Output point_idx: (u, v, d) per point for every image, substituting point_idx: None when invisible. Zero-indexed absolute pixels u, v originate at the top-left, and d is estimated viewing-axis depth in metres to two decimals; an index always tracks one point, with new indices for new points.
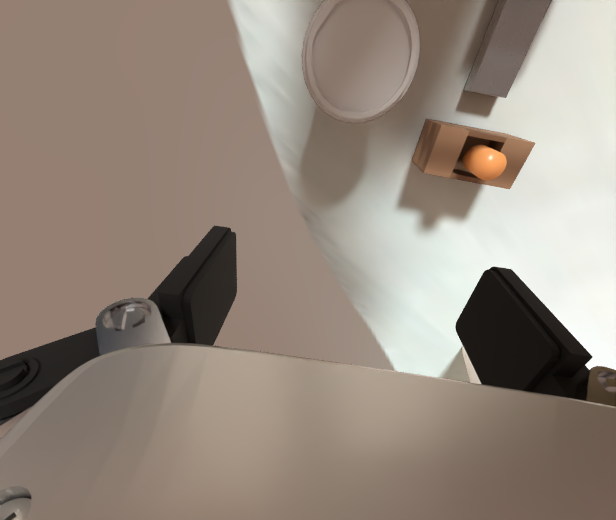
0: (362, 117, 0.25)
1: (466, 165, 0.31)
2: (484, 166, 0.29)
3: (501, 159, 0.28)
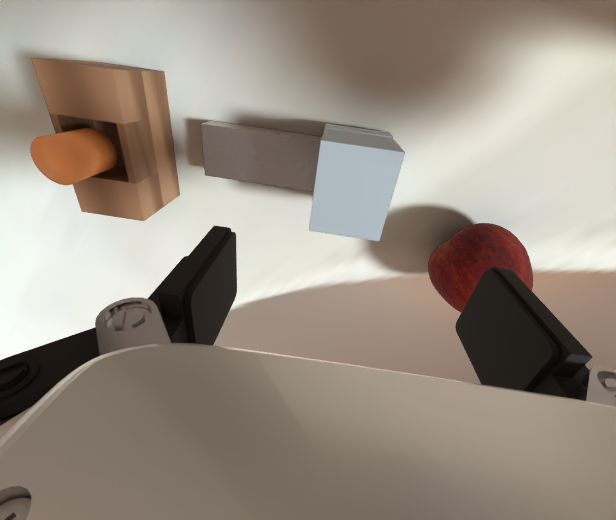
0: None
1: None
2: (49, 151, 0.17)
3: (71, 174, 0.18)
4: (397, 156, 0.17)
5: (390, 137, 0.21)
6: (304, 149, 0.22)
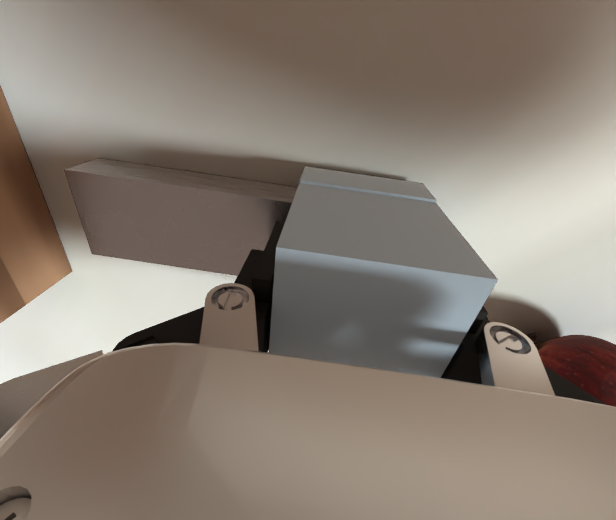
0: None
1: None
2: None
3: None
4: (476, 287, 0.07)
5: (431, 201, 0.10)
6: (264, 215, 0.12)
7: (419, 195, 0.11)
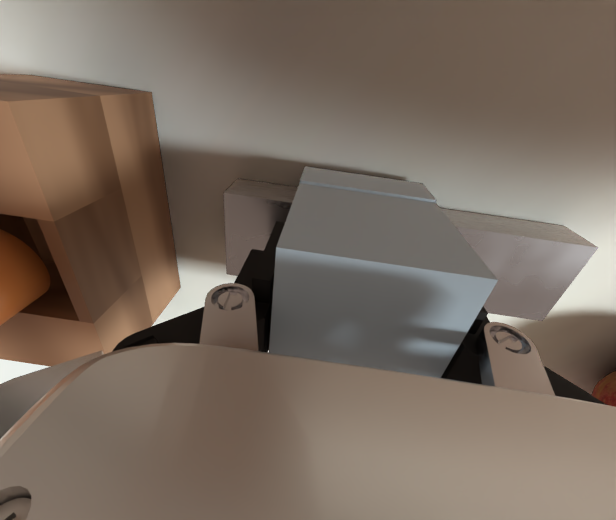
0: None
1: None
2: None
3: None
4: (476, 287, 0.07)
5: (431, 201, 0.10)
6: None
7: (419, 195, 0.11)
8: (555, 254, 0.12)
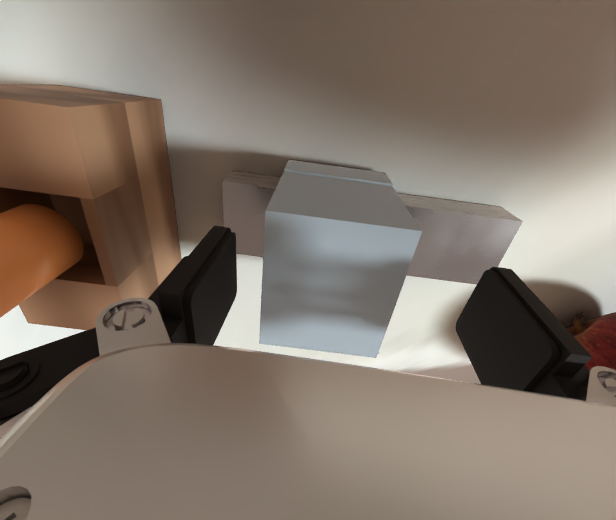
0: None
1: None
2: None
3: None
4: (408, 237, 0.09)
5: (388, 185, 0.13)
6: None
7: (379, 180, 0.13)
8: (490, 228, 0.15)
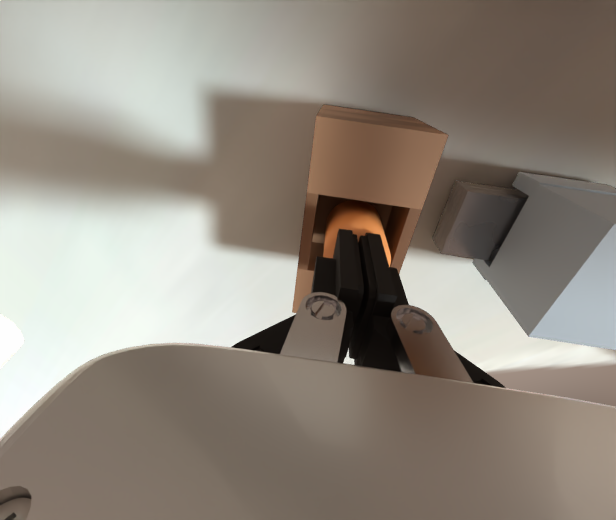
0: None
1: (343, 210, 0.13)
2: None
3: None
4: None
5: None
6: None
7: None
8: None
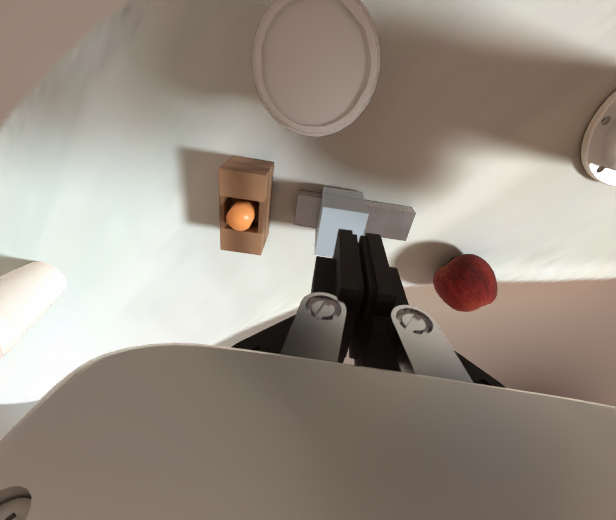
0: (257, 77, 0.21)
1: (238, 200, 0.34)
2: (237, 214, 0.32)
3: (245, 225, 0.33)
4: (365, 215, 0.31)
5: (362, 198, 0.35)
6: None
7: (359, 196, 0.35)
8: (403, 215, 0.36)
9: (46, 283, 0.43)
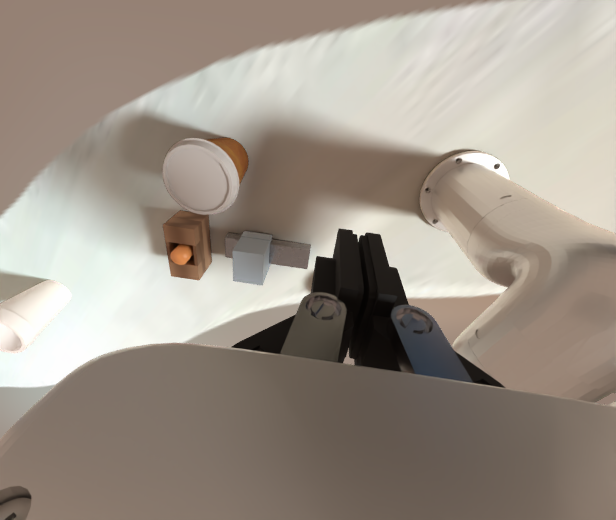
0: (166, 186, 0.36)
1: None
2: (177, 254, 0.47)
3: (183, 261, 0.47)
4: (261, 256, 0.45)
5: (268, 240, 0.49)
6: (270, 248, 0.51)
7: (266, 239, 0.49)
8: (301, 251, 0.50)
9: (55, 296, 0.60)
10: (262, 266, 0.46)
